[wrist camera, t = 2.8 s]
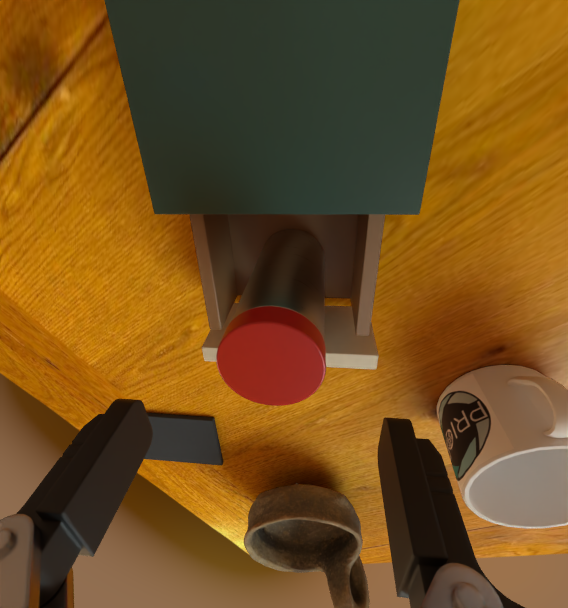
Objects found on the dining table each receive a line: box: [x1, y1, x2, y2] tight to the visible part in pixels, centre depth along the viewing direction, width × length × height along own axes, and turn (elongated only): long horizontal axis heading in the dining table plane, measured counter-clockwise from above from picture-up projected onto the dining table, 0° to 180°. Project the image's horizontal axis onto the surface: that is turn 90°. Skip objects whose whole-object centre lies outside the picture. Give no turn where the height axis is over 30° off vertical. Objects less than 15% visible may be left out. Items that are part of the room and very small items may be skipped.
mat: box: [144, 413, 223, 465], centre depth 38 cm, size 10×8×1 cm
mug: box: [437, 365, 568, 528], centre depth 26 cm, size 13×10×8 cm
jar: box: [216, 229, 326, 406], centre depth 18 cm, size 4×4×11 cm
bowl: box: [244, 483, 369, 608], centre depth 38 cm, size 14×18×10 cm
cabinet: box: [105, 0, 459, 215], centre depth 15 cm, size 14×13×8 cm
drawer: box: [189, 214, 385, 369], centre depth 21 cm, size 14×11×6 cm
